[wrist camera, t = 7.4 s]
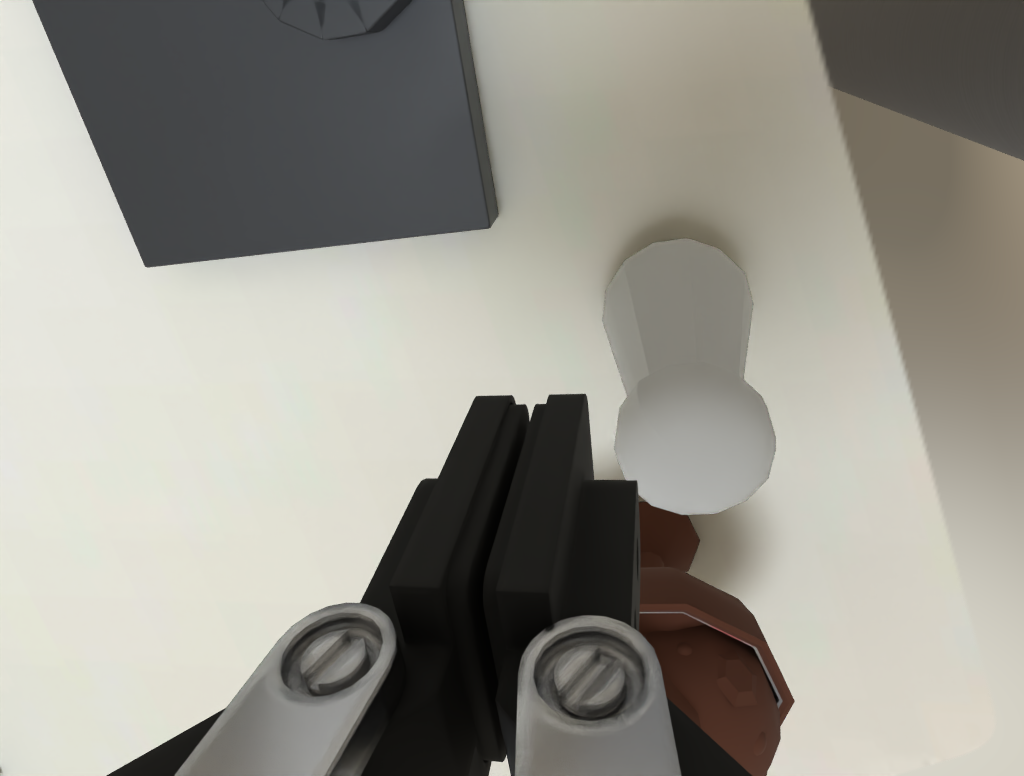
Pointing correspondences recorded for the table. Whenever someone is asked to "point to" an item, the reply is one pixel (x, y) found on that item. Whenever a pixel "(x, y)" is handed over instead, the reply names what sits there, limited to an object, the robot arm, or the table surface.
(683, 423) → the salt shaker
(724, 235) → the table surface
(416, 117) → the scale
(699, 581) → the ice cream bowl
